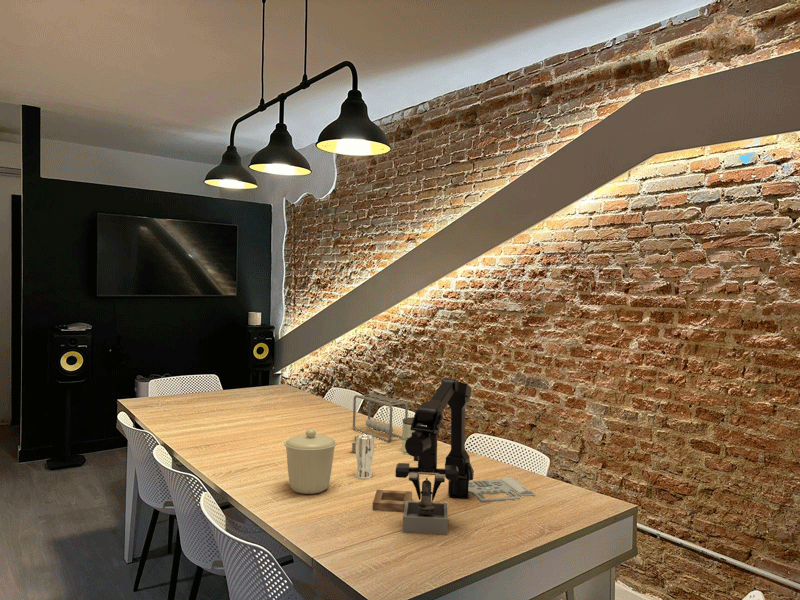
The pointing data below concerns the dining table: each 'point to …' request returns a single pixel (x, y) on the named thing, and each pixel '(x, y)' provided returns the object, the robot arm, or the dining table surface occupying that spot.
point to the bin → (425, 519)
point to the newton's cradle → (376, 424)
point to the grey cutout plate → (498, 489)
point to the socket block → (391, 495)
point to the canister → (309, 461)
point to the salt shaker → (426, 501)
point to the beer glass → (364, 455)
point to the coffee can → (407, 432)
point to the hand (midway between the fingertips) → (426, 499)
